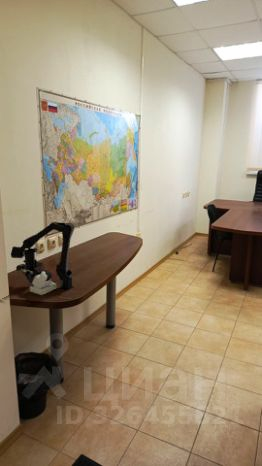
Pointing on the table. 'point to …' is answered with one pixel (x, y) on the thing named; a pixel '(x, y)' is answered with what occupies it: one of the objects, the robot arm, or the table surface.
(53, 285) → the holder
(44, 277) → the white stepped block
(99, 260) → the table surface
